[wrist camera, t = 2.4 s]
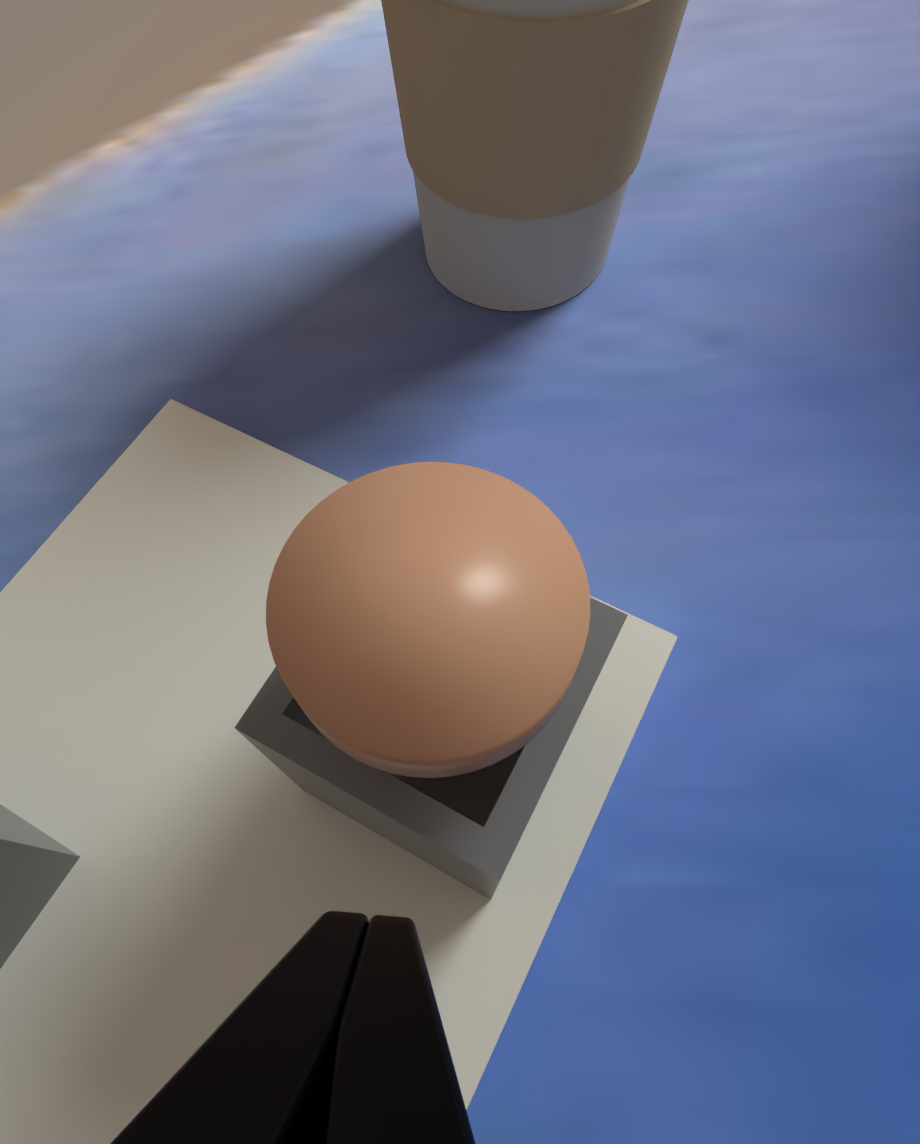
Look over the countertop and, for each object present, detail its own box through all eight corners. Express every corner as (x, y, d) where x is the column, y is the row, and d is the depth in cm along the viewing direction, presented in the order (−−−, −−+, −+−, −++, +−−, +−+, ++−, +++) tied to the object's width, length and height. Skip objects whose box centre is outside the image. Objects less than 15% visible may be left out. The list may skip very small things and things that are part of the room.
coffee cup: (688, 262, 28) (890, -370, 15) (491, 376, 26) (513, -245, 12) (536, 135, 31) (586, -477, 18) (350, 226, 29) (245, -393, 16)
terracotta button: (487, 872, 16) (497, 826, 9) (300, 765, 17) (199, 659, 10) (580, 682, 17) (640, 537, 11) (406, 595, 18) (373, 419, 12)
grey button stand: (285, 1503, 14) (129, 1975, 8) (-314, 1002, 18) (-759, 1035, 11) (667, 652, 21) (752, 525, 15) (183, 422, 25) (83, 241, 19)
